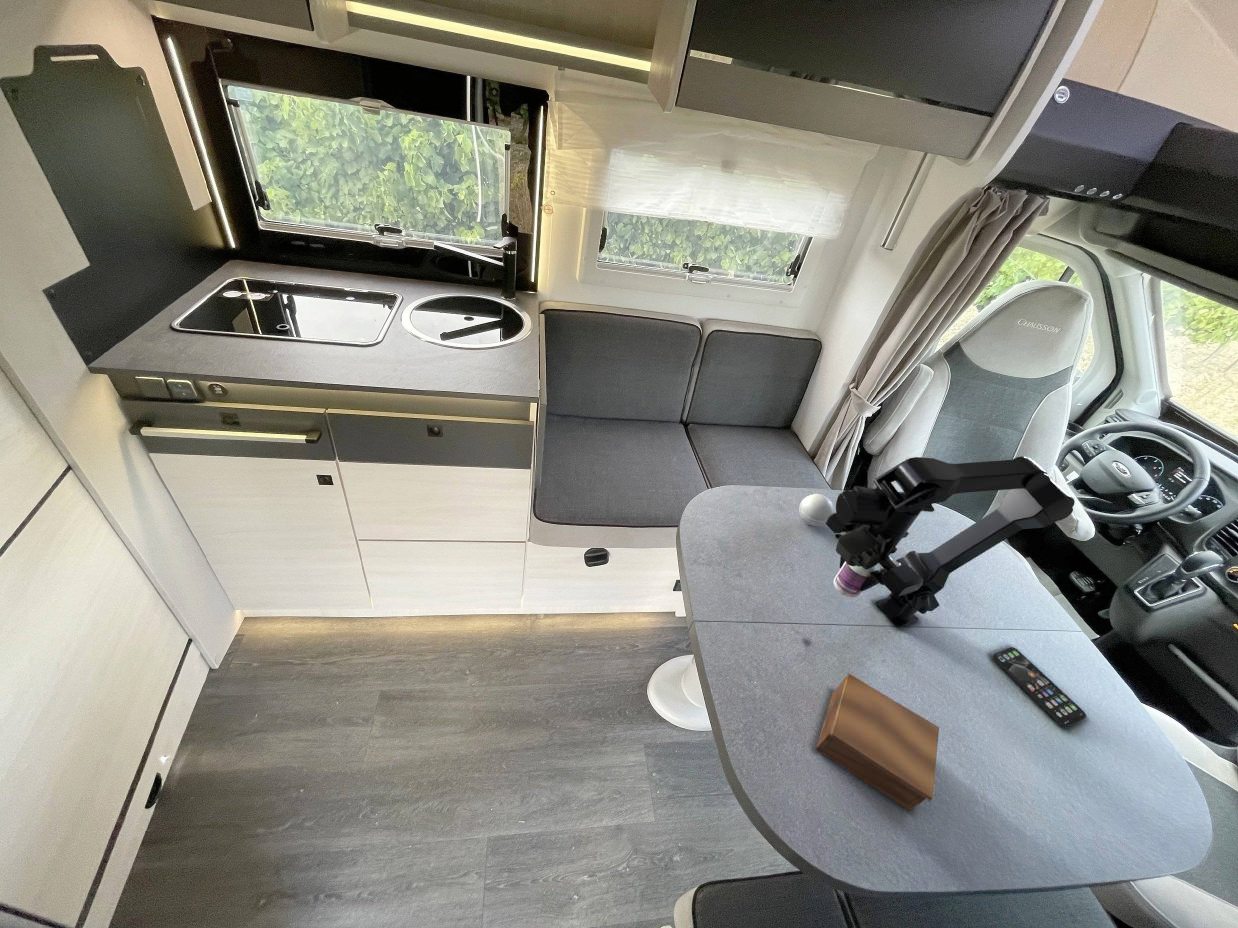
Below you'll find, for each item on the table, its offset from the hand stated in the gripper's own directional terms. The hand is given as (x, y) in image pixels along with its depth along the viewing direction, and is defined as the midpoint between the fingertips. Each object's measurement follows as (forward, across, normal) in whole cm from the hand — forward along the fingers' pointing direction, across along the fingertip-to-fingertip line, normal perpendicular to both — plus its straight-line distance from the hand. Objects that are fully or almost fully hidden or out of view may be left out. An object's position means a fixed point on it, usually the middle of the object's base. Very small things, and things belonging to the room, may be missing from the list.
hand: (851, 579), depth 98 cm
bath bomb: (+10, -23, +14) cm, 29 cm away
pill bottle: (+3, 0, 0) cm, 3 cm away
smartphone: (+10, +27, +29) cm, 41 cm away
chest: (+10, +24, -14) cm, 29 cm away
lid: (+4, +24, -14) cm, 28 cm away
